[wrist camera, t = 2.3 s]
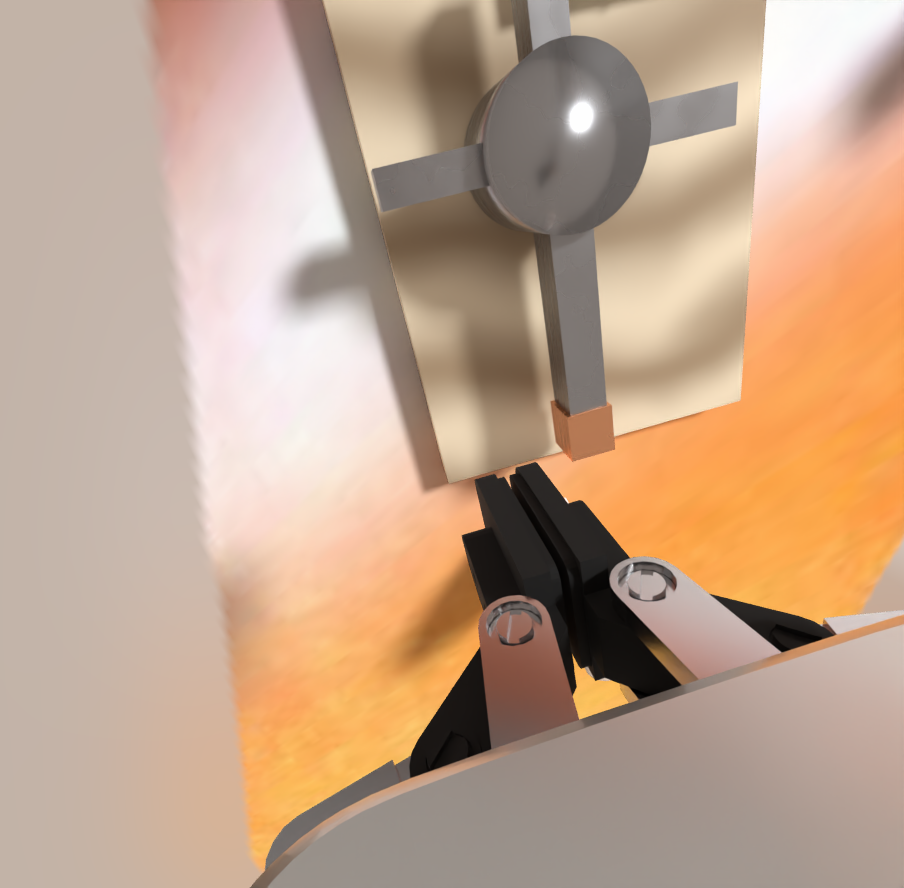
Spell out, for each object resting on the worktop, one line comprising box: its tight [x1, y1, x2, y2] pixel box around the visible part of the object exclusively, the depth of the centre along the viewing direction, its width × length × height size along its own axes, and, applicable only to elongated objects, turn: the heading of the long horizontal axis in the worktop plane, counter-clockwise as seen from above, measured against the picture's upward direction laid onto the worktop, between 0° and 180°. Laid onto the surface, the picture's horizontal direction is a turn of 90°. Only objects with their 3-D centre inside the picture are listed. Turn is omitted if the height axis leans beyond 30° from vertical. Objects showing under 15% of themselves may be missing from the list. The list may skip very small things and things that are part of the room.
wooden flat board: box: [322, 0, 766, 484], centre depth 23 cm, size 24×18×3 cm
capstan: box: [371, 0, 738, 462], centre depth 20 cm, size 20×14×4 cm
